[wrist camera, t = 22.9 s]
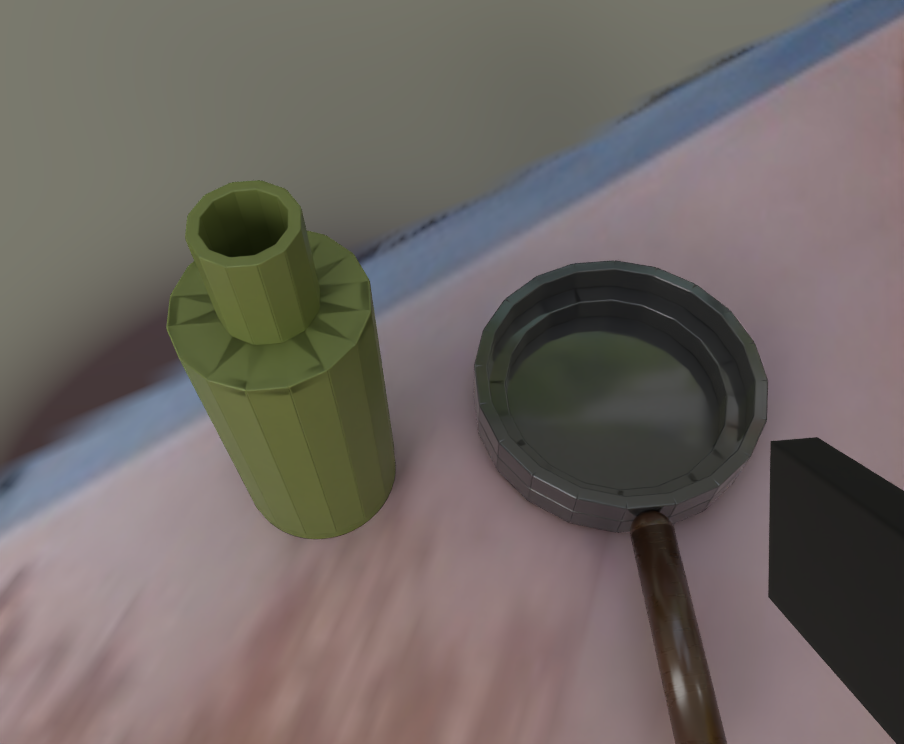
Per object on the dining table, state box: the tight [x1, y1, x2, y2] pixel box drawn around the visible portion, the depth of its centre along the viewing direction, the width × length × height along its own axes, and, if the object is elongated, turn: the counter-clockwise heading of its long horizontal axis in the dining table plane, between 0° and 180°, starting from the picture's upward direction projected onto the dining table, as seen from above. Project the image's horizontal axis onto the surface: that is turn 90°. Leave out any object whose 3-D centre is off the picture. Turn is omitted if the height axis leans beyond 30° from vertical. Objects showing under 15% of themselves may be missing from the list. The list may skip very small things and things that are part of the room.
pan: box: [474, 261, 768, 533], centre depth 39 cm, size 13×13×3 cm
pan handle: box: [630, 511, 727, 744], centre depth 33 cm, size 2×10×2 cm, turn 5°
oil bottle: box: [167, 180, 395, 539], centre depth 32 cm, size 7×7×17 cm
